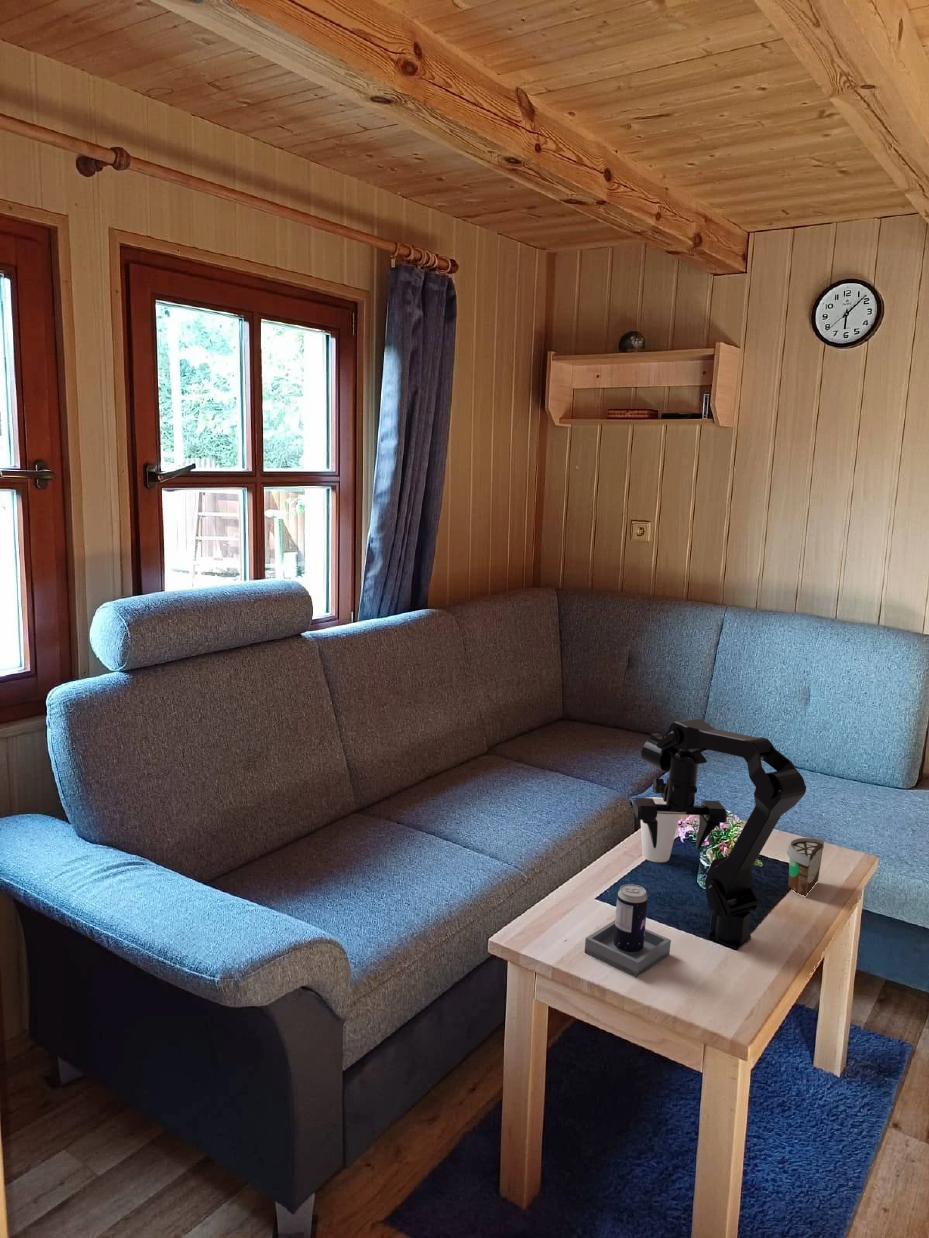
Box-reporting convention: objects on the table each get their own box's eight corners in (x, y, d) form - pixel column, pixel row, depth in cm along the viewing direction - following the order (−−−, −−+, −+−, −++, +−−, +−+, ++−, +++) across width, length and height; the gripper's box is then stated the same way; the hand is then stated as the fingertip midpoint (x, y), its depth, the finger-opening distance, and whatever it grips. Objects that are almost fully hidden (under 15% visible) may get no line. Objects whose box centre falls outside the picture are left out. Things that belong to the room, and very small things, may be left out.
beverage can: (642, 958, 173) (648, 899, 171) (612, 953, 174) (617, 894, 172) (643, 943, 178) (648, 885, 176) (613, 938, 180) (618, 881, 177)
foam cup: (629, 857, 218) (633, 805, 216) (644, 844, 226) (649, 794, 224) (667, 868, 213) (672, 815, 211) (682, 855, 221) (687, 803, 218)
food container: (792, 872, 215) (797, 832, 213) (819, 880, 211) (824, 839, 209) (775, 891, 205) (780, 849, 203) (803, 900, 201) (809, 857, 199)
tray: (669, 954, 177) (670, 939, 176) (636, 977, 168) (638, 962, 168) (618, 931, 184) (619, 917, 184) (584, 952, 176) (585, 937, 175)
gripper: (715, 766, 201) (708, 833, 204) (630, 763, 201) (624, 830, 203) (731, 785, 190) (723, 856, 193) (641, 781, 190) (635, 852, 193)
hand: (675, 848), depth 196 cm, fingers open, 9 cm apart
